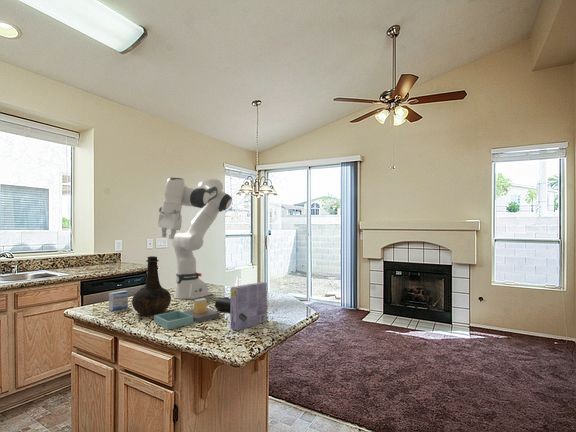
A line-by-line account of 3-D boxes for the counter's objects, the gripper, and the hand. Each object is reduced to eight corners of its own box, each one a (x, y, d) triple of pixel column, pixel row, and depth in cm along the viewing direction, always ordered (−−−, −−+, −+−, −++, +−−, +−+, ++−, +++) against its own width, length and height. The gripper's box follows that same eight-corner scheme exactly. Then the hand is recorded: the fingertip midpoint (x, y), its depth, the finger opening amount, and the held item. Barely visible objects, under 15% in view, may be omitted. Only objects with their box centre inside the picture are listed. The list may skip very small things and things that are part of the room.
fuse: (203, 314, 150) (203, 298, 150) (206, 316, 148) (206, 299, 148) (194, 317, 146) (194, 299, 146) (196, 318, 144) (196, 300, 145)
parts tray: (179, 317, 147) (179, 310, 147) (193, 324, 137) (193, 316, 137) (154, 323, 139) (154, 315, 139) (167, 330, 129) (167, 322, 129)
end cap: (214, 312, 157) (214, 298, 157) (223, 308, 163) (223, 295, 163) (231, 314, 152) (231, 300, 153) (239, 311, 159) (239, 297, 159)
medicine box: (112, 311, 159) (112, 293, 159) (108, 309, 162) (108, 292, 162) (128, 307, 165) (128, 291, 165) (124, 306, 168) (124, 290, 168)
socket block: (204, 312, 156) (204, 307, 156) (219, 318, 146) (219, 312, 146) (181, 317, 148) (181, 311, 148) (196, 323, 138) (196, 318, 138)
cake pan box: (261, 318, 145) (261, 280, 146) (269, 320, 142) (269, 281, 143) (229, 329, 131) (229, 287, 131) (237, 332, 127) (237, 288, 128)
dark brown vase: (156, 306, 167) (156, 254, 168) (178, 311, 158) (179, 255, 159) (123, 314, 152) (124, 257, 153) (146, 320, 143) (147, 259, 143)
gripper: (186, 211, 147) (182, 240, 146) (170, 210, 162) (166, 236, 161) (173, 209, 143) (169, 239, 142) (157, 208, 158) (153, 235, 157)
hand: (167, 238), depth 152 cm, fingers open, 8 cm apart
